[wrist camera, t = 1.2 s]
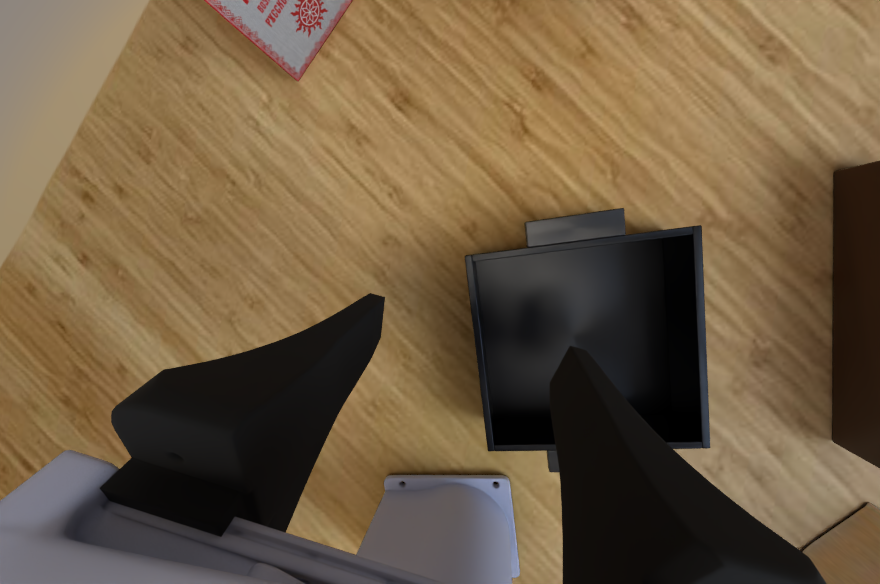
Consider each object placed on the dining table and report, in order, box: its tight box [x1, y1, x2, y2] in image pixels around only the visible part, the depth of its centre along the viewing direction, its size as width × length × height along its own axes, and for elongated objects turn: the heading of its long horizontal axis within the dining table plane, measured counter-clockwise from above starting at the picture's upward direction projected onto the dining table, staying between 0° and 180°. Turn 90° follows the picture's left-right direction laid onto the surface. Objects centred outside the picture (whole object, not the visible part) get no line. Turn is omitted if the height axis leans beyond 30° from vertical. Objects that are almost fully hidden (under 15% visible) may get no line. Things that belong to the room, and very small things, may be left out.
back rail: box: [833, 161, 880, 468], centre depth 17 cm, size 2×16×3 cm, turn 8°
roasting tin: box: [465, 208, 710, 472], centre depth 19 cm, size 12×15×4 cm
